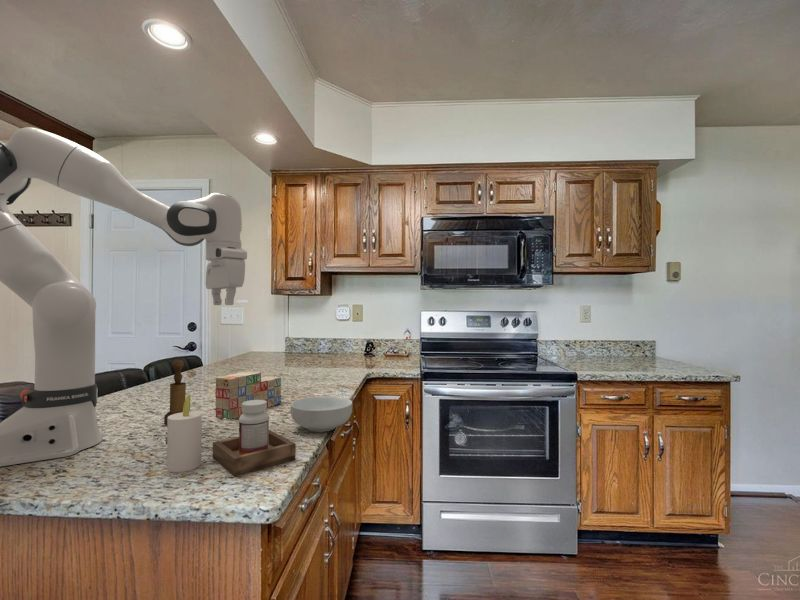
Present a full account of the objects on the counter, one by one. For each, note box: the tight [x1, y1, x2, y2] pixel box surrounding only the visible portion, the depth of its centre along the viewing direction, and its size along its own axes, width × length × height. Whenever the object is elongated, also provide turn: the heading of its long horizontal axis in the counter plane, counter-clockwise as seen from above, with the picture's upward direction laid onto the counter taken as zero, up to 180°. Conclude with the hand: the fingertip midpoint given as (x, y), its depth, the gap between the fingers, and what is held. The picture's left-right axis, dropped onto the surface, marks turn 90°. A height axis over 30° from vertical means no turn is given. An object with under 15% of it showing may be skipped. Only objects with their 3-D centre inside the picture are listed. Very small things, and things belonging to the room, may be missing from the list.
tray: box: [212, 429, 297, 478], centre depth 87 cm, size 13×13×4 cm
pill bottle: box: [238, 400, 270, 455], centre depth 87 cm, size 6×6×11 cm
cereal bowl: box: [290, 395, 354, 433], centre depth 109 cm, size 17×17×7 cm
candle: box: [165, 393, 203, 473], centre depth 83 cm, size 6×6×15 cm
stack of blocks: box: [214, 371, 282, 420], centre depth 128 cm, size 21×6×12 cm, turn 154°
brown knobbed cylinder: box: [163, 359, 187, 426], centre depth 115 cm, size 7×6×18 cm
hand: (223, 305), depth 108 cm, fingers open, 8 cm apart
